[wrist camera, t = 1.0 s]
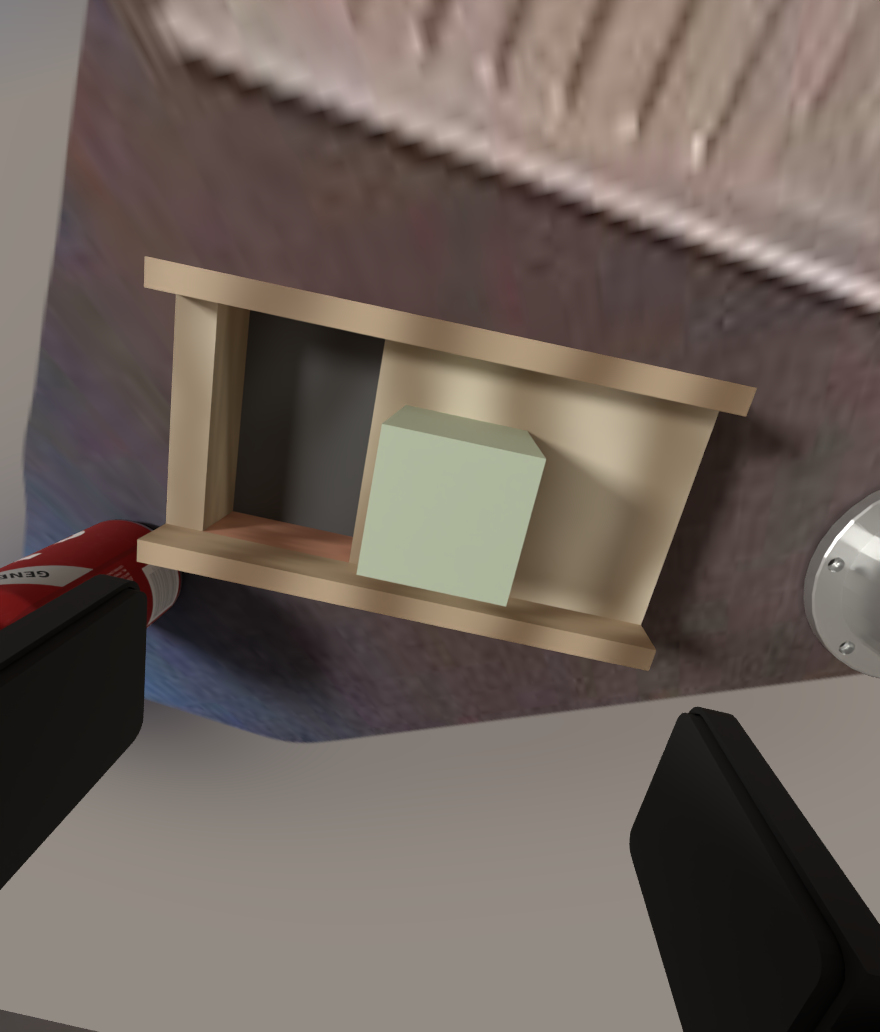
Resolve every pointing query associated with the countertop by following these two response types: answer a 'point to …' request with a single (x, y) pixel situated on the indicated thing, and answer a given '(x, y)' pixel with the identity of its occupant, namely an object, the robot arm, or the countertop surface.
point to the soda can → (86, 571)
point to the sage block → (450, 504)
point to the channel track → (354, 443)
